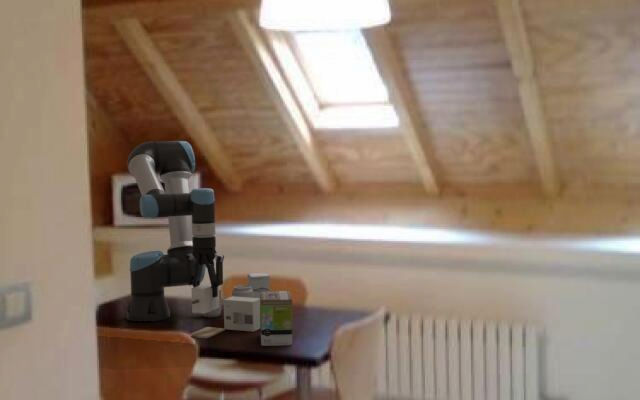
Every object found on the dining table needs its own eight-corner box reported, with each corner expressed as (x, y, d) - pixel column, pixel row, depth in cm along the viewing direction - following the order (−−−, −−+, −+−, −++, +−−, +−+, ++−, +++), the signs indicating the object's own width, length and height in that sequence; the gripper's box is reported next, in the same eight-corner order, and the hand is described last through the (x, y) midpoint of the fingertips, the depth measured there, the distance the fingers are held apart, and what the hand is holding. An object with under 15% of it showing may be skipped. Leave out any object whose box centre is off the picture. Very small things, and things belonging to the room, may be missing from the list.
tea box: (293, 345, 283) (292, 298, 282) (261, 346, 282) (260, 299, 281) (291, 334, 298) (290, 289, 297) (260, 335, 297) (259, 290, 296)
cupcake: (214, 319, 321) (213, 291, 320) (193, 317, 326) (192, 289, 325) (229, 314, 329) (229, 287, 328) (208, 312, 334) (207, 285, 333)
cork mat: (187, 336, 297) (187, 334, 297) (206, 328, 308) (206, 326, 308) (206, 338, 294) (206, 336, 294) (224, 330, 305) (224, 328, 305)
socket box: (224, 329, 306) (223, 299, 306) (232, 325, 312) (232, 296, 311) (253, 331, 302) (252, 301, 301) (261, 327, 308) (261, 298, 307)
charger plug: (186, 314, 293) (186, 290, 293) (211, 305, 308) (210, 281, 307) (199, 315, 291) (198, 290, 291) (223, 306, 306) (222, 282, 305)
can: (245, 323, 315) (244, 288, 314) (228, 320, 319) (227, 287, 318) (258, 318, 321) (257, 285, 320) (241, 316, 325) (240, 283, 324)
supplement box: (251, 310, 336) (250, 276, 334) (247, 306, 343) (247, 273, 342) (270, 309, 337) (270, 275, 336) (267, 305, 344) (266, 272, 343)
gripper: (174, 236, 298) (176, 307, 300) (221, 238, 291) (223, 310, 293) (186, 233, 305) (188, 302, 307) (233, 235, 298) (235, 305, 300)
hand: (206, 306), depth 300 cm, fingers closed on charger plug, 4 cm apart
